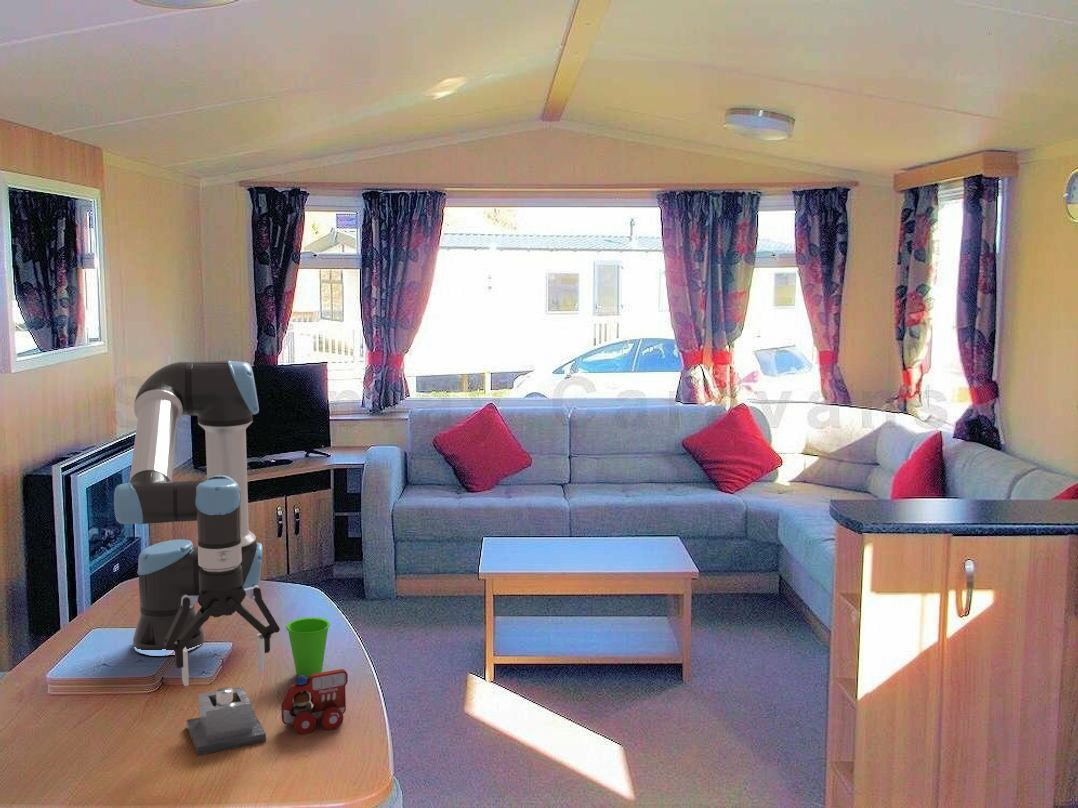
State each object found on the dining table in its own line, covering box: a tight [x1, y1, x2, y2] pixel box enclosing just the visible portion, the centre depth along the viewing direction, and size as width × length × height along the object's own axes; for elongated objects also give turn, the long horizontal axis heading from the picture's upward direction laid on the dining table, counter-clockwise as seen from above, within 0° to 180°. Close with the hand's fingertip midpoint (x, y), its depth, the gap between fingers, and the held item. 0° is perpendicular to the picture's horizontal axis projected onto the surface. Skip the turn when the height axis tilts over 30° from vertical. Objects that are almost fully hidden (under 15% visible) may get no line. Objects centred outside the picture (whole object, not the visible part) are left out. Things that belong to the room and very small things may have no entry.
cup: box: [285, 616, 331, 680], centre depth 215 cm, size 9×9×11 cm
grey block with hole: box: [198, 686, 253, 740], centre depth 188 cm, size 8×8×6 cm
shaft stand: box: [186, 686, 267, 756], centre depth 188 cm, size 12×12×8 cm
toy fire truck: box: [280, 668, 349, 735], centre depth 193 cm, size 7×12×10 cm, turn 113°
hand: (224, 676), depth 188 cm, fingers open, 13 cm apart
